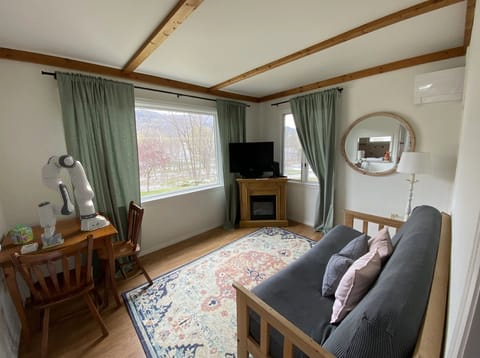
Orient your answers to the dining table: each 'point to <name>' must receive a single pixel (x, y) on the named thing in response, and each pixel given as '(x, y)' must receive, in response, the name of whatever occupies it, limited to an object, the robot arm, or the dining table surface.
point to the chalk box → (21, 235)
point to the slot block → (29, 248)
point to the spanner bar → (53, 238)
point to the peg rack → (53, 243)
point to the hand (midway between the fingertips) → (52, 239)
